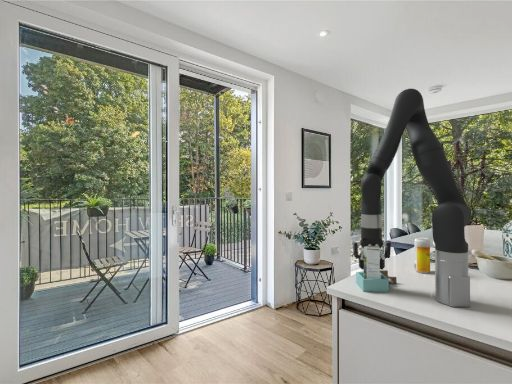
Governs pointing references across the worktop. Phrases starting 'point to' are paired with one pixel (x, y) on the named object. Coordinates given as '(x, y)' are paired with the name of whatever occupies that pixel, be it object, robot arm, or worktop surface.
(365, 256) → the syrup box
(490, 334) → the worktop surface
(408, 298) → the worktop surface
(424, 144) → the robot arm
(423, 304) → the worktop surface
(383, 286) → the teal square tray
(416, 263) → the glass of beer
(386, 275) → the mount rails
